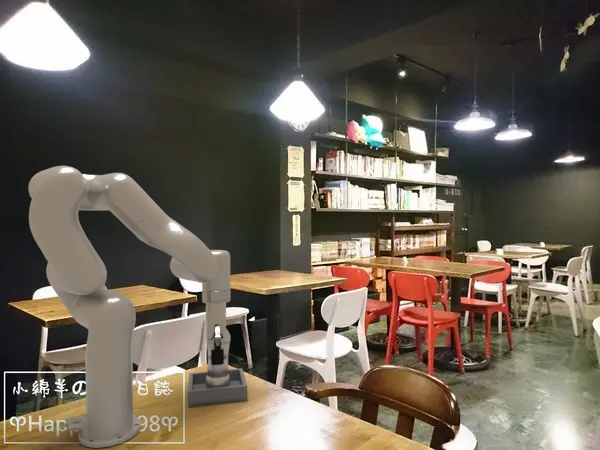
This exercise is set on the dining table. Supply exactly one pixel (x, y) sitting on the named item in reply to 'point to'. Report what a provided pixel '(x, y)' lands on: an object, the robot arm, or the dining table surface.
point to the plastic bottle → (218, 366)
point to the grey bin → (216, 390)
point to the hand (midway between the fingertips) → (216, 358)
